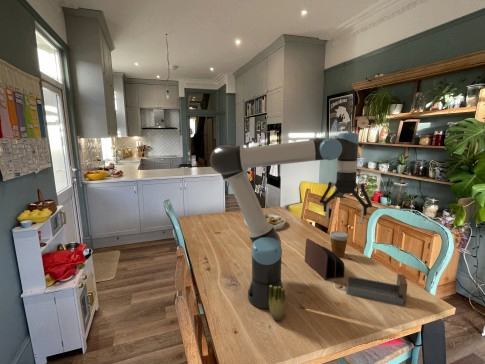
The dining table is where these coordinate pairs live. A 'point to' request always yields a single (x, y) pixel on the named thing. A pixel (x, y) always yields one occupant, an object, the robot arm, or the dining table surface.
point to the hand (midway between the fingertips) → (344, 221)
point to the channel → (379, 289)
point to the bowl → (273, 221)
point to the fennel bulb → (277, 302)
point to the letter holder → (323, 261)
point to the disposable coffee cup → (338, 242)
